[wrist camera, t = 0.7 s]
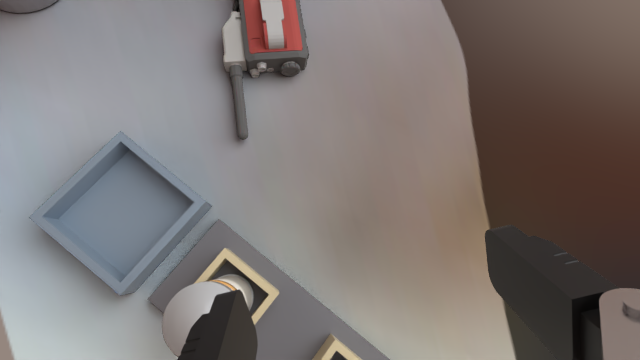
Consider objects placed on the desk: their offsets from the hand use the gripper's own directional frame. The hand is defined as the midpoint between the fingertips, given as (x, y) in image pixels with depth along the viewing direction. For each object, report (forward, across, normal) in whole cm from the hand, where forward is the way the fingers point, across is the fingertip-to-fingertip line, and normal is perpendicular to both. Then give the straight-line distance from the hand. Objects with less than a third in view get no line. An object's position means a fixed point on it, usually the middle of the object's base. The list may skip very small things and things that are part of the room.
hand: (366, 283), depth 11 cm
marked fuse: (+17, +11, +10) cm, 23 cm away
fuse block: (+17, +8, +16) cm, 24 cm away
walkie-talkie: (+32, +4, -9) cm, 33 cm away
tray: (+22, +19, +2) cm, 29 cm away
